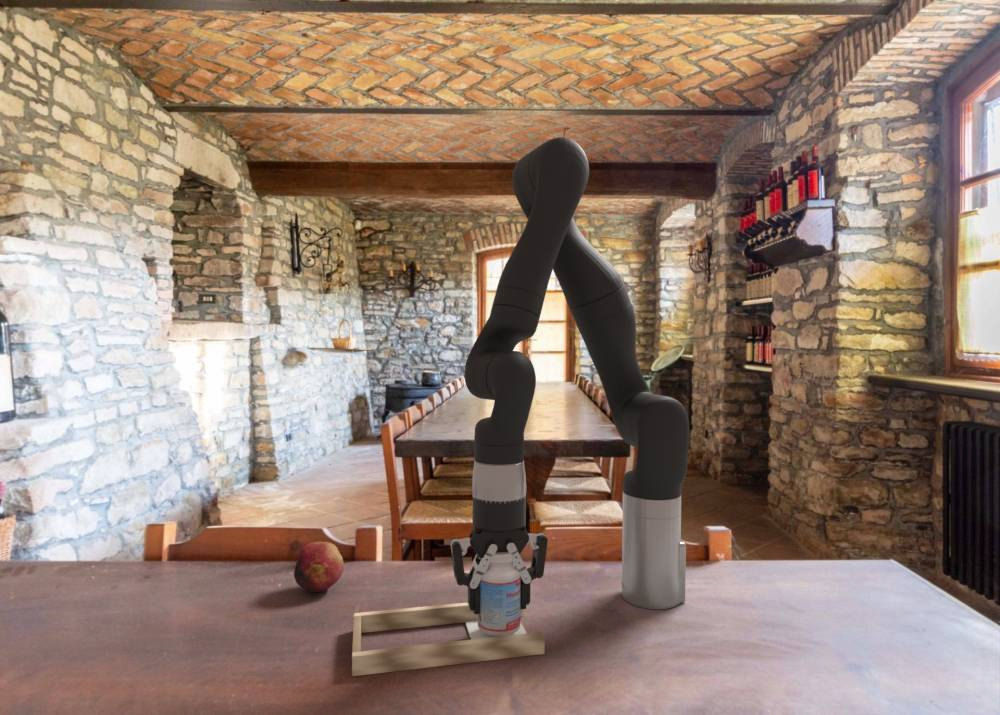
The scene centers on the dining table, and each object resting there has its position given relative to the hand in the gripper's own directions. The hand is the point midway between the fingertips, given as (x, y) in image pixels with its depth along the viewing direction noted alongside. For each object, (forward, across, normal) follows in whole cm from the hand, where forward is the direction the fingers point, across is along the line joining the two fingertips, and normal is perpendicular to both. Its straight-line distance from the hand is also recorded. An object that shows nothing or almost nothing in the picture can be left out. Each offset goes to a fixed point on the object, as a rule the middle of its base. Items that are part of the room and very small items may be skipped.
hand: (498, 609), depth 84 cm
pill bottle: (+3, 0, 0) cm, 3 cm away
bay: (+4, +8, 0) cm, 8 cm away
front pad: (+4, 0, 0) cm, 4 cm away
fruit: (+4, +26, -21) cm, 34 cm away
